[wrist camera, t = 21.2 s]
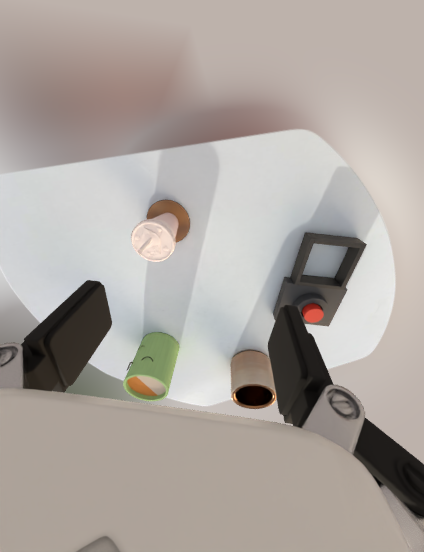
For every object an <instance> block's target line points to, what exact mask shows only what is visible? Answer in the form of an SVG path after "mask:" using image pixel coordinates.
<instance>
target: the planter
mask: <svg viewBox="0 0 424 552" xmlns="http://www.w3.org/2000/svg"><path fill="white" fill-rule="evenodd" d="M231 398H232V400H233V401H234V402H235V403H236V404H237V405H239V406H241V407H244V408H249V409H260V408H265V407H268V406H270V405H271V404H273V403H274V402H275V401H276V398H277V397H276V391H275V385H274V379H273V374H272V368H271V362H270V359H269V358H268V357H267V356H266V355H265V354H263V353H260V352H257V351H244V352H241V353H239V354H237V355H235V356H234V357H233V358H232V360H231Z"/></svg>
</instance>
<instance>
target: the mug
mask: <svg viewBox="0 0 424 552" xmlns="http://www.w3.org/2000/svg"><path fill="white" fill-rule="evenodd" d="M178 351H179V344H178V342H177V341H176V340H175V339H174V338H173V337H171V336H170V335H168V334H165V333H160V332H154V333H150V334H148V335H146V336H145V337H144V338H143V340H142V342H141V345H140V347H139V349H138V351H137V353H136V356H135V358H134V360H133V362H130V364H131V363H132V364H131V367H130V369H129V371H128V373H127V375H126V378H125V380H124V382H123V386H124V388H125V390H126V391H127V392H128V393H129V394H130V395H132V396H133V397H135V398H138V399H140V400H145V401H158V400H162V399H164V398H165V397H166V396H167V395H168V391H169V387H170V383H171V379H172V375H173V371H174V367H175V363H176V359H177V355H178ZM130 364H129V366H130ZM129 366H128V368H129ZM127 370H128V369H127Z"/></svg>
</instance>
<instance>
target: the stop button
mask: <svg viewBox="0 0 424 552" xmlns="http://www.w3.org/2000/svg"><path fill="white" fill-rule="evenodd" d="M302 313H303V316H304V318H305V320H306V321H308V322H311V323H314V322H318V321H320V320H321V319H322V318H323V316H324V313H323V311H322V309H321V308H320V306H319V305H318V304H315V303H311V304H308V305H306V306H304V307H303V309H302Z"/></svg>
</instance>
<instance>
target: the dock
mask: <svg viewBox="0 0 424 552" xmlns="http://www.w3.org/2000/svg"><path fill="white" fill-rule="evenodd" d="M313 243H317V244H326V245H335V246H345V247H349V249H348V251H347V253H346V255H345V257H344V260H343V262H342V264H341V266H340V268H339V271H338V273H337V275H336V277H335V279H334V278H325V277H316V276H307V275H302V273H303V271H304V268H305V265H306V262H307V260H308V257H309V254H310V251H311V249H312V246H313ZM366 245H367V244H365V243H364V242H362V241H361V240H360V239H358V238H351V237H342V236H333V235H324V234H314V233H305V235H304V238H303V241H302V244H301V247H300V250H299V253H298V256H297V259H296V262H295V265H294V268H293V271H292V274H291V279H292V281H293V283H294V285H301V286H310V287H319V288H328V289H337V290H344V289H345V287H346V285H347V283H348V281H349V279H350V277H351V275H352V273H353V271H354V269H355V267H356V265H357V263H358V261H359V259H360V257H361V255H362V253H363V251H364V249H365V247H366Z"/></svg>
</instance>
